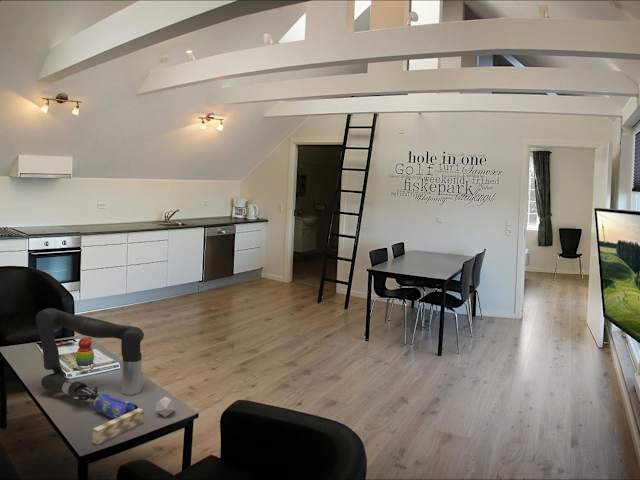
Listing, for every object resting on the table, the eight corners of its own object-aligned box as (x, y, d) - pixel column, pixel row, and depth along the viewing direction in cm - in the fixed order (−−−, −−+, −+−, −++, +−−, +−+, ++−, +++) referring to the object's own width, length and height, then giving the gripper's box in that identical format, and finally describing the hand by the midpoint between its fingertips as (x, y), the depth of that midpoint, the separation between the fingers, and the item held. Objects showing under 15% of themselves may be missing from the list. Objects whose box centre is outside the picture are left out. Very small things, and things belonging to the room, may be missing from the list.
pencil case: (139, 420, 235) (139, 400, 234) (124, 427, 227) (124, 407, 226) (107, 407, 245) (107, 388, 244) (91, 414, 238) (91, 394, 237)
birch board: (138, 420, 234) (138, 408, 233) (143, 422, 233) (143, 409, 232) (92, 442, 213) (92, 428, 212) (97, 444, 212) (97, 430, 211)
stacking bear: (90, 363, 298) (91, 333, 296) (97, 368, 291) (98, 338, 289) (71, 367, 290) (71, 337, 288) (78, 372, 283) (78, 341, 281)
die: (162, 410, 247) (151, 398, 242) (178, 402, 247) (168, 390, 242) (162, 423, 240) (151, 411, 235) (178, 415, 241) (168, 402, 235)
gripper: (61, 385, 242) (86, 395, 233) (86, 377, 253) (110, 385, 245) (61, 400, 243) (85, 410, 234) (86, 391, 254) (110, 400, 246)
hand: (98, 398), depth 240 cm, fingers closed
